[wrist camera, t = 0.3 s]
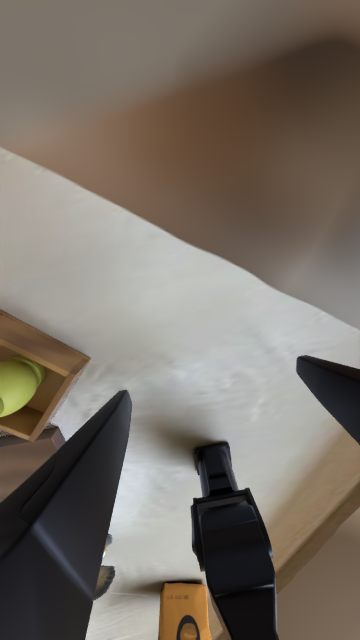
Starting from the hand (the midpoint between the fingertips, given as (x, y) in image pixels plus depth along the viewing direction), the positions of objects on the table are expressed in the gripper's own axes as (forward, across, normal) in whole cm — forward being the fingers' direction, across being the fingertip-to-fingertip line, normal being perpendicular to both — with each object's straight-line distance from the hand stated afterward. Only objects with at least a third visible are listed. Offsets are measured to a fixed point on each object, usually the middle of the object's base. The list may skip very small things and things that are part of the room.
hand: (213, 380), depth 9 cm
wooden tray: (+14, +24, +4) cm, 28 cm away
